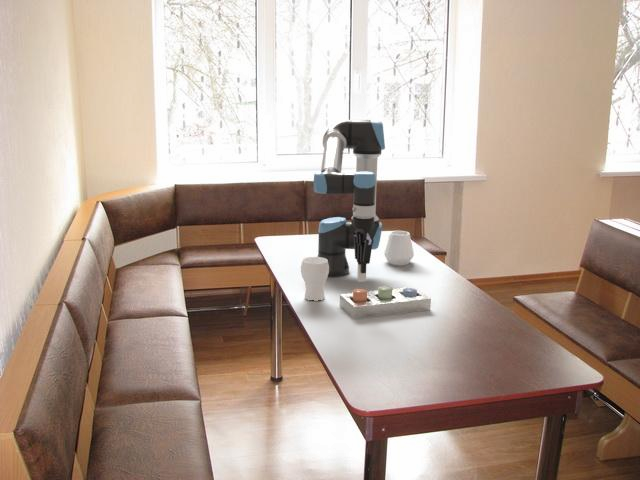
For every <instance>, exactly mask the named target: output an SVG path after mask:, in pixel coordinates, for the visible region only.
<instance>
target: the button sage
mask: <svg viewBox="0 0 640 480" xmlns="http://www.w3.org/2000/svg"><path fill="white" fill-rule="evenodd" d="M393 289H394V288H393V287H391V286H384V285H383V286H379V287H378V289H377V290H378V298H379V299H380V300H387V299H392V292H393Z"/></svg>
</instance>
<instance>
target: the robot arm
mask: <svg viewBox="0 0 640 480" xmlns="http://www.w3.org/2000/svg"><path fill="white" fill-rule="evenodd" d="M384 133H385V131H384V124H383V122H382V121H381V120H374V119H344V120H339V121H337V122H335V123H334V124H333V123H332V125H331V126H329V128H327V130H326V131H325V133H324V135H323V137H322V147H323V154H322V162H321V167H320V168H321V169H320V172H315V173H314V175H313V192H314V193H316V194H324V195H327V194H328V195H334V194H335V195H336V194H337V195H353V203H352V204H353V206H352V209H351V210H352V216H351V219H350V220H351V221H347V219H346V217H341V216H336V217H328V218H326V219H322V220H321V221H320V222H319V224H318V243H317V245H318V248H317V249H318V250H317V252H318V253H317V256H316V257H322V258H325V259H327V260H328V264H329V274H328V277H334V278H335V277H343V276H346V275H348V274H349V273H350V266H349V263H348V259H347V256H346V255H347V254H346V250H354V259H355V260H356V262H357V276H356V277H357V280H356V281H357V282H358V283H361V282H366V281H367V265H368V264H370V263H371V256H372V251H373V250H377V249H378V248H379V246H380V242H381V236H382V229H383V223H382V222H381V221H380V218H379V217H378V216H377V214H376V211H377V209H376V207H377V183H378V182H377V180H378V179H377V178H378V157H380V156H381V155H382V151H383V150H385V149H386V146H385V134H384ZM345 149H351V150H352V154H353V155H354V156H355V157H356V166H355V167H356V168H355V169H356V170H355V172H354V173H349V172H347V173H346V172H345V173H344V172H342V167H343V158H344V157H343V155H344V150H345Z"/></svg>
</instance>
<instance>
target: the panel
mask: <svg viewBox="0 0 640 480" xmlns="http://www.w3.org/2000/svg"><path fill="white" fill-rule="evenodd" d="M405 288H413V289H416V290H417V296H414V297H405V296H403V289H405ZM431 303H432V298H431V297H429V295H427V294H425V293H423V292H422V291H420V290H419V289H418V288H416V287H415V286H407V287H399V288H393V292H392V299H387V300H380V299H379V298H378V289H377V290H370V291H369V290H367V302H359V303H354V302H353V292H352V293H351V292H350V293H340V294H339V307H340V308H341V309H342V310H344V311H345V313H346V314H348V315H349V316H350V317H351V318H352V319H353V320H357V319H358V320H359V319H365V318H366V319H367V318H368V319H369V318H375V317H382V316H392V315H393V316H394V315H400V314H409V313H417V312H419V313H420V312H425V311H431V305H432V304H431Z"/></svg>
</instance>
